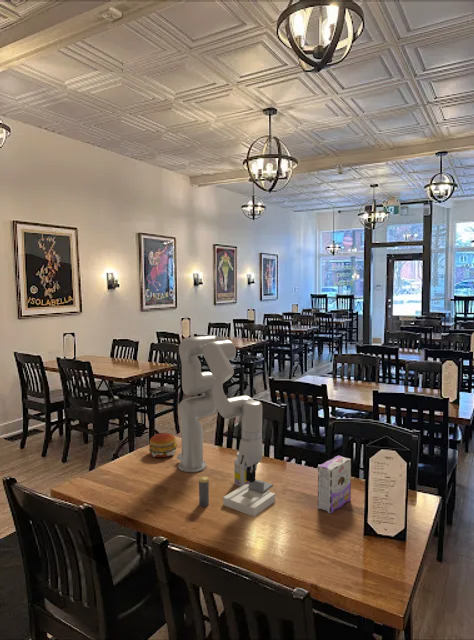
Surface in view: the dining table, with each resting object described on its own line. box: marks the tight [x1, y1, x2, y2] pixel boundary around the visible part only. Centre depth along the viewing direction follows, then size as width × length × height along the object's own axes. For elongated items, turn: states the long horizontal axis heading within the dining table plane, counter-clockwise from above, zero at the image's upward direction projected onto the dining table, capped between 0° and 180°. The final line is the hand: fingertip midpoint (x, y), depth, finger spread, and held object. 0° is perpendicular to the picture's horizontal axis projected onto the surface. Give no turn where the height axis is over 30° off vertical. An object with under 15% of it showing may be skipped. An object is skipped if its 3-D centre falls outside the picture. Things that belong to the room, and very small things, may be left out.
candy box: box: [317, 455, 352, 514], centre depth 164 cm, size 14×6×16 cm, turn 134°
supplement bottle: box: [233, 451, 249, 487], centre depth 182 cm, size 7×7×13 cm
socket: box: [222, 484, 276, 517], centre depth 166 cm, size 14×14×3 cm
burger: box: [148, 432, 178, 458], centre depth 214 cm, size 13×14×10 cm
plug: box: [198, 475, 210, 508], centre depth 164 cm, size 4×4×10 cm
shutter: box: [248, 478, 274, 493], centre depth 171 cm, size 7×7×4 cm
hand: (250, 480), depth 167 cm, fingers closed
